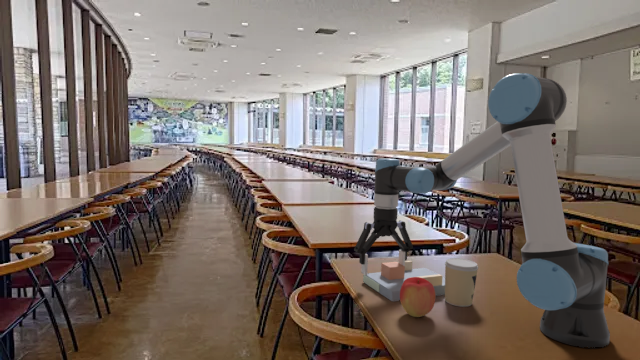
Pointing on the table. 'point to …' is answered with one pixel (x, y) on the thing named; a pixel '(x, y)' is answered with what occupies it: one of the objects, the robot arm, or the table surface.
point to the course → (394, 286)
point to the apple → (417, 296)
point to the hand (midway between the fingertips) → (383, 272)
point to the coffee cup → (460, 281)
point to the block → (392, 270)
